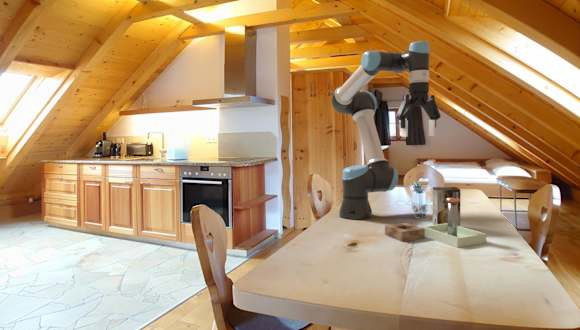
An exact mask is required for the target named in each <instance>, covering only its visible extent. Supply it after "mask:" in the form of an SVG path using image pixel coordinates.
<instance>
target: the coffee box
mask: <svg viewBox="0 0 580 330" xmlns="http://www.w3.org/2000/svg"><path fill="white" fill-rule="evenodd" d="M449 197H453V198H459V199H460V200H461V189H460V188H458V187H456V186H436V187H435V186H433V187H432V225H437V224H444V223H448V202H447V201H446V198H449ZM457 226H461V201H460V202H458V218H457Z"/></svg>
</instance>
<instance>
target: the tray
mask: <svg viewBox="0 0 580 330" xmlns="http://www.w3.org/2000/svg"><path fill="white" fill-rule="evenodd" d="M420 227H421V228H424V229H425V237H426V238H430V239H432V240H435V241H438V242H440V243H443V244H446V245H449V246H452V247H455V248H462V247H468V246H473V245H479V244H484V243H485V244H486V243H487V233H484V232H481V231H477V230H474V229H471V228H467V227H464V226H461V225H460V226H457V237H455V236H452V235H449V234H447V233H448V223H444V224H437V225H433V224H431V225H425V226H424V225H423V226H420Z"/></svg>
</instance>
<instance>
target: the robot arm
mask: <svg viewBox="0 0 580 330" xmlns="http://www.w3.org/2000/svg"><path fill="white" fill-rule="evenodd" d="M430 53H431V52H430V44H429V42H428V41H425V40H419V41H413V42H411V43H410V44H409V47H408V51H404V52H393V51H392V52H390V51H378V50H368V51H365V52H364V53H363V54H362V57H361V59H360V60H361V61H360V66H359V67H358V68H357V69H356V70H355V71H354V72H353V73H352V74H351V76H350V77H349V78H348V79H347V80H346V81H345V82H344V83H343V85H342V86H338V87H337V88H336V89H335V90H334V92H333V93H332V95H331V98H330V102H331V105H332V106H331V107H332V108H333V109H334V111H335V112H337V113H339V114H341V115H350V116H351V118H352V120H353V121H354V122H356V126H357V130H358V134H359V137H360V141H361V146H362V148H363V152H364V157H365V160H366V164H359V165H357V164H356V165H351V166H347V167H345V168H344V169H343V170H342V178H341V179H342V201H341V204H340V207H339V211H338V213H339V214H338V216H339V217H340V218H343V219H346V220H347V219H348V220H366V219H370V218H372V217H373V211H372V208H371V205H370V202H369V193H380V192H381V193H382V192H384V193H385V192H390V191H393V190H394V189H396V187H397V184H398V182H399V173H398V170H397V168H396V167H395V166H392V165H391V164H390V161H389V160H388V159H386V158H385V154H384V151H383V148H382V145H381V140H380V137H379V133H378V131H377V126H376V123H375V121H374V120H375V119H374V116H375V114H376V110H377V108H378V107H377V106H378V102H377V98H376V96H375V95H374V93H372V92H370V91H365V90H362V89H363V88H364V87H365V86H366V85H367V84H369V82H370V81H372V80H373V78H375V76H377V75H378V74H379V73H380V72H392V73H394V74H402V73H405V72H407V71H408V83H409V84H408V93H409V94H407V93H406V94H403V95H402V101H401V103H400V105H399V108H398V110H397V113H396V115H395V118H396V119H398V120H399V122H400V126H399V127H400V129H401V138H407V137H408V136H409V135H408V133H409V131H408V130H409V129H408V128H409V125H408V124H409V120H408V119H407V118H408V117H409V116H410V114H411V113H412V111H413V109H414V108H415V107H421V108H423V110H424V112H426V115H428V118H429V120H428V137H435V136H436V128H437V120H439V119H441V113H440V112H439V111H440V110H439V109H438V106H437V103H436V98H435V95H434V94H430V95H429V92H430V83H429V81H430ZM361 90H362V91H361Z"/></svg>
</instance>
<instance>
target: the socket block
mask: <svg viewBox="0 0 580 330" xmlns="http://www.w3.org/2000/svg"><path fill="white" fill-rule="evenodd" d="M421 227H422V226H418V225H414V224H411V223H408V222H403V223H396V224H395V223H394V224H386V225H384V235H385V236H387V237H390V238H391V239H395V240H396V241H399V242H402V243H403V242H410V241H416V240H421V239H425V237H426V236H425V229H424V228H421Z"/></svg>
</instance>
